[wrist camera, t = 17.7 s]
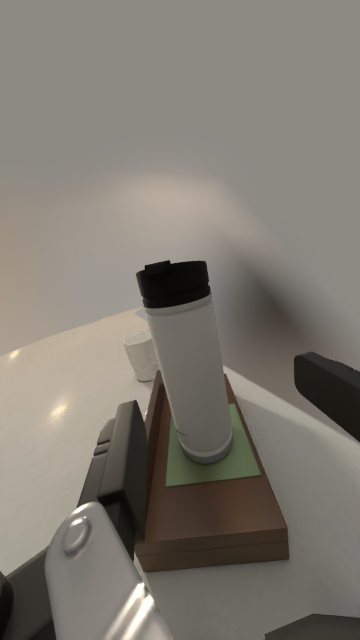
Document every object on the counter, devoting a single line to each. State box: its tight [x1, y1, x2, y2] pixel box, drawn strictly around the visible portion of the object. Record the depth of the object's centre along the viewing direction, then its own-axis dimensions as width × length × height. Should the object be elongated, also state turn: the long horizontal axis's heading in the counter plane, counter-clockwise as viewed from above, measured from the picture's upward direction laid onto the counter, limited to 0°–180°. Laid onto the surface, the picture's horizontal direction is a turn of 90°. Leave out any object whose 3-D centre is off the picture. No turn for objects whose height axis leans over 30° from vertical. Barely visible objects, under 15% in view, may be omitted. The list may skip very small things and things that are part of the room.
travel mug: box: [136, 260, 233, 464], centre depth 18 cm, size 6×7×20 cm
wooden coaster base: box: [134, 370, 289, 572], centre depth 23 cm, size 12×20×7 cm, turn 179°
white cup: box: [123, 330, 160, 381], centre depth 44 cm, size 8×8×10 cm
